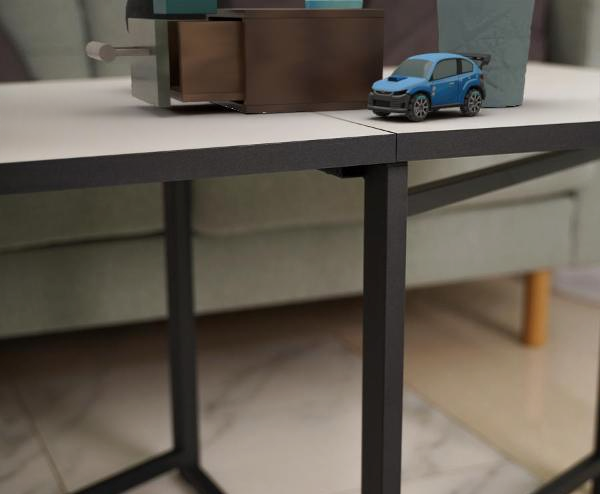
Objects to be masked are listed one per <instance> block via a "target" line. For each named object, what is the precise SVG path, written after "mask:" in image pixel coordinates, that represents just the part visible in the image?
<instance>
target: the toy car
mask: <svg viewBox="0 0 600 494" xmlns="http://www.w3.org/2000/svg"><path fill="white" fill-rule="evenodd" d="M466 57H473V58H466ZM477 57H478V58H481V59H477ZM472 60H478V61H482V63H481V65H480V66H479V67H478V66H477V65H476V64H475V63H474V62H473V61H472ZM490 60H491V55H490V54H477V53H456V52H455V53H452V54H450V53H439V52H434V53H433V52H432V53H424V54H418V55H417V54H416V55H413V56H410V57H408V58H407V59H405V60H404V61H402V62H401V64H399V65H398V66H397V67H396V68H395V69H394V70H393V72H392V73H391V74H390V76H387V77H385V78H383V80H379V81H377V82H375V83H374V84H373V87H372V89H371V93H370V94H369V95H368V106H367V109H366V110H367V111H372V113H373V114H374V115H375V116H377V117H382V118H385V117H388V116H390V115H391V114H401V115H402V114H404V115H405V117H406V118H407V119H408V120H409V121H412V122H422V121H423V120H424V119H426V117H427V115H428V114H429V112H438V111H440V110H445V109H454V108H459V110H460V112H461V114H463V116H467V117H468V116H469V117H473V116H476V115H477V114H479V112H480V111H481V106H482V100H485V98H486V87H485V84H484V79H483V72H482V68H483V66H484V65H488V64H489V62H490Z"/></svg>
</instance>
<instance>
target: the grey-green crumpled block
mask: <svg viewBox="0 0 600 494" xmlns="http://www.w3.org/2000/svg"><path fill="white" fill-rule="evenodd" d="M535 3H536V0H436V6H437V7H436V8H437V10H436V11H437V20H438V21H437V23H438V24H437V25H438V27H437V28H438V51H439V52H438V53H450V54H452V53H455V52H456V53H477V54H490V55H491V60H490V62H489V64H488V65H484V66H483V68H482V72H483V79H484V84H485V87H486V98H485V100H482V106H481V107H497V108H507V107H506V106H514V107H517V106H516V105H520V106H522V104H523V101H524V94H525V88H526V87H525V86H526V74H527V65H528V61H529V53H530V46H531V34H532V30H531V28H532V23H533V15H534V10H535ZM466 58H473V57H466ZM477 59H481V58H478V57H477ZM472 61H473V62H474V63H475V64H476V65H477V66H478V67H479V66H480V65H481V63H482V61H478V60H472Z"/></svg>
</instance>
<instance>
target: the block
mask: <svg viewBox="0 0 600 494" xmlns="http://www.w3.org/2000/svg"><path fill="white" fill-rule="evenodd" d="M153 5H154V14H217V0H153Z"/></svg>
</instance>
